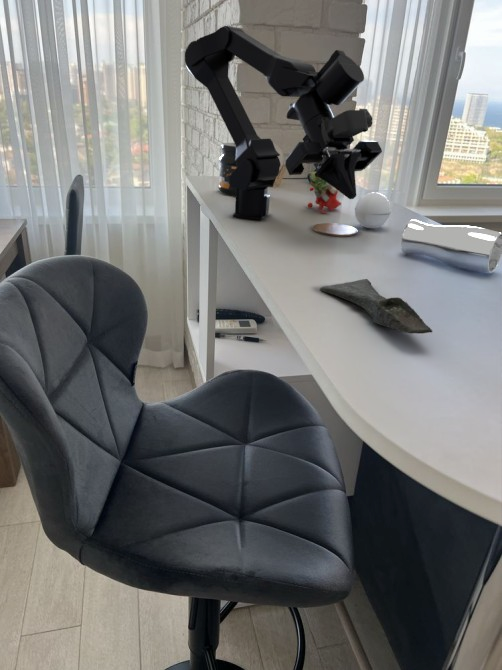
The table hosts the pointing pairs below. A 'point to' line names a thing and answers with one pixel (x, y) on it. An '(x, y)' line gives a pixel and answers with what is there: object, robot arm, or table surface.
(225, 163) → the supplement container
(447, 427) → the table surface
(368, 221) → the white sphere
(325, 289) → the tool
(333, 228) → the coaster
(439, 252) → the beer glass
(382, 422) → the table surface
